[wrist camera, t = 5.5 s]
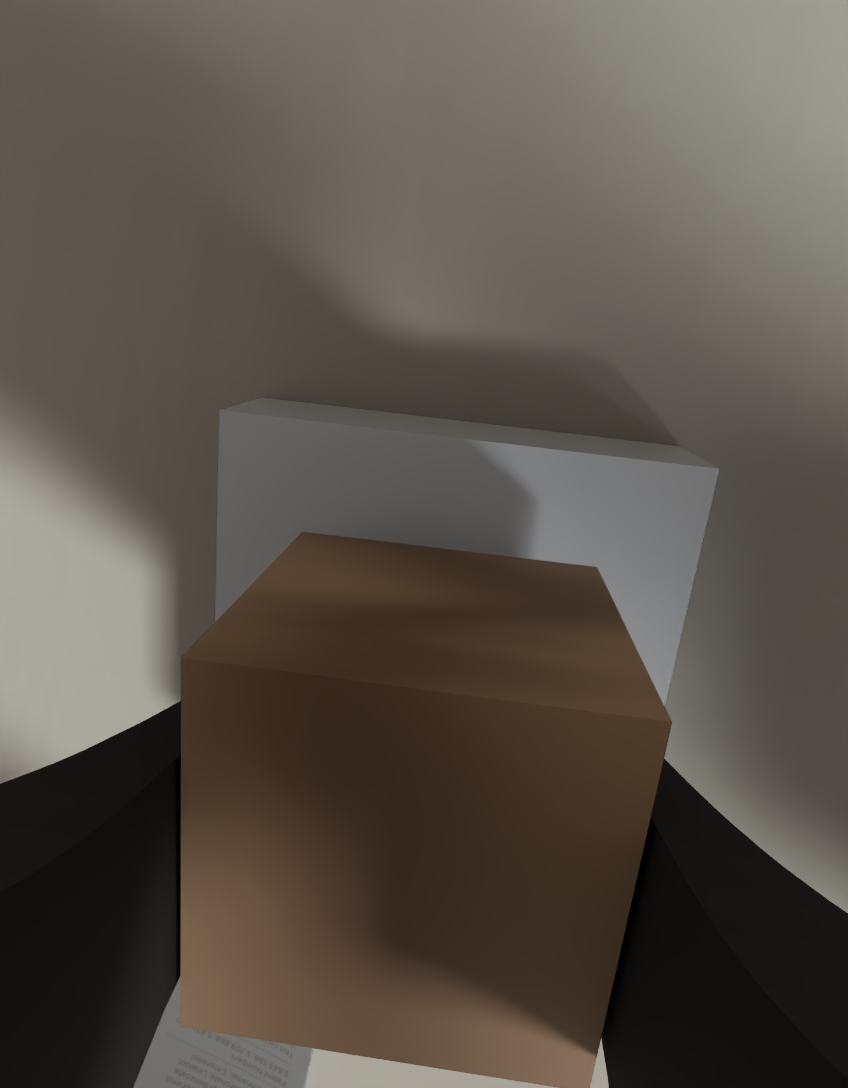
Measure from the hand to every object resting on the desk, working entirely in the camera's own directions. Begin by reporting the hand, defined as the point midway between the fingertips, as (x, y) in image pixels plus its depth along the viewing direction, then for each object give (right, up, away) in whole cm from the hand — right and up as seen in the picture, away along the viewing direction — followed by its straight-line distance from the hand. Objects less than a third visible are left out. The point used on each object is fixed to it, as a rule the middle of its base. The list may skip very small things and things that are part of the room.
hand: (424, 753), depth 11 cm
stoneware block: (0, +2, +6) cm, 6 cm away
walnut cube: (0, +1, +2) cm, 2 cm away
